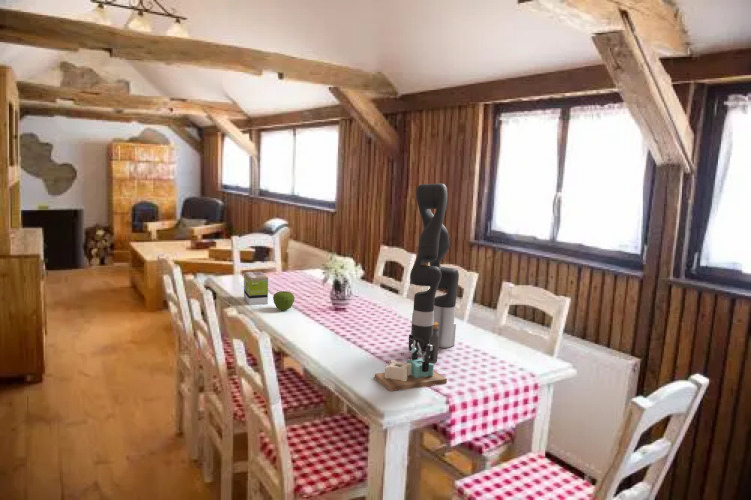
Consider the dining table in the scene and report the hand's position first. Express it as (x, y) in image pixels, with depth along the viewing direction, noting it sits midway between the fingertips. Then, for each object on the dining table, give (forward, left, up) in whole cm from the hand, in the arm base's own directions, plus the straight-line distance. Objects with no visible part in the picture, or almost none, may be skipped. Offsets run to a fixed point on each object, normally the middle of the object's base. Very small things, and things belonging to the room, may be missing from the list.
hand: (419, 367), depth 185 cm
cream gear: (+9, 0, -2) cm, 9 cm away
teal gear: (0, 0, -2) cm, 2 cm away
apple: (+21, -99, -4) cm, 101 cm away
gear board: (+4, +1, -4) cm, 6 cm away
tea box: (+30, -119, -4) cm, 123 cm away
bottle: (-13, -14, -4) cm, 20 cm away
